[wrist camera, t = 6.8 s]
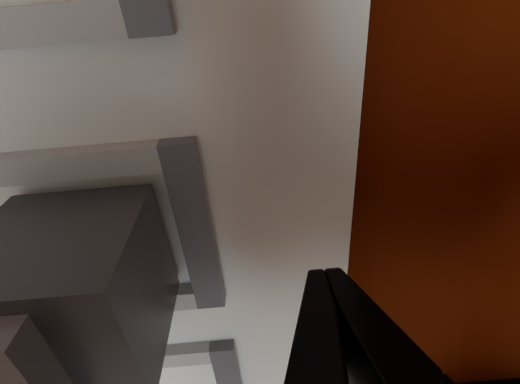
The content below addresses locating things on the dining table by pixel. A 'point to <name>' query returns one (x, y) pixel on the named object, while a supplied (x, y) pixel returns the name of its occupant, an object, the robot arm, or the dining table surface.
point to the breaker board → (200, 148)
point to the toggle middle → (85, 287)
